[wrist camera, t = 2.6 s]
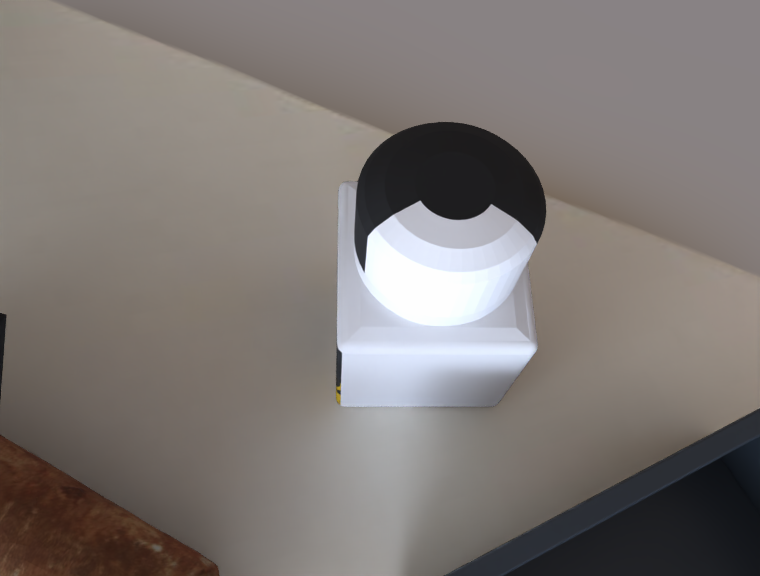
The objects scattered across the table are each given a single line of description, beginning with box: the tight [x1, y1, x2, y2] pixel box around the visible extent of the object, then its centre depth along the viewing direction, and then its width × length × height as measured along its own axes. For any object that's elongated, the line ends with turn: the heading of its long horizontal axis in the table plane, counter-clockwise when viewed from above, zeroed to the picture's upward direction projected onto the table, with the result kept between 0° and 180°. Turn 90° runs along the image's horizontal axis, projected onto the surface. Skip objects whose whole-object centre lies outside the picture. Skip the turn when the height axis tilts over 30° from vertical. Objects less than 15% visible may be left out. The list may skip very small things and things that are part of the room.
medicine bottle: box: [336, 122, 546, 407], centre depth 27 cm, size 7×7×12 cm
